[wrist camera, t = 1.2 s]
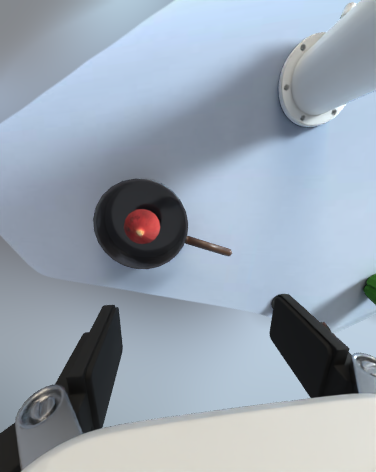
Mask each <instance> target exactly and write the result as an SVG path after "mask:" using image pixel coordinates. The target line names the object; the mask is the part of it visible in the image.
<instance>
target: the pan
mask: <svg viewBox="0 0 376 472" xmlns="http://www.w3.org/2000/svg"><path fill="white" fill-rule="evenodd" d="M138 209H145V210H149V211H151V212H152V213H154V214H155V215H156V216H157V218H158V220H159V223H160V231H159V234H158V236H157V237H156V239H155V240H153V241H152V242H150V243H146V244H138V243H135V242H133V241H131V240H130V239H129V238H128V236H127V235H126V233H125V230H124V223H125V219H126V218H127V216H128V215H129V214H130V213H131V212H133V211H135V210H138ZM93 221H94V232H95V234H96V237H97V240H98V243H99V244H100V245H101V247H102V248H103V250H104V251H105V253H107V254H108V255H109V256H110V257H111V258H112V259H113V260H115V261H117V262H119V263H120V264H122V265H124V266H127V267H131V268H135V269H150V268H155V267H159V266H161V265H163V264H165V263H167V262H169V261H170V260H171V259H173V258H174V257H175V256H176V255H177V254H178V253H179V251H180V250H181V248H182V247H183V245H184V243H185V240H186V237H187V232H188V220H187V215H186V211H185V209H184V207H183V205H182V203H181V201H180V199H179V198H178V197H177V195H176V194H175V193H174V192H173V191H172V190H171V189H169V188H168V187H167V186H165V185H164V184H162V183H159V182H156V181H153V180H148V179H131V180H126V181H122V182H120V183H118V184H116V185H114V186H112V187H111V188H110V189H109V190H108V191H107V192H106V193H104V194H103V195H102V197H101V199H100V200H99V202H98V204H97V206H96V209H95V213H94V218H93Z"/></svg>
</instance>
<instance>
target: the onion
mask: <svg viewBox="0 0 376 472" xmlns="http://www.w3.org/2000/svg"><path fill="white" fill-rule="evenodd" d="M124 230H125V233H126V235H127V236H128V238H129V239H130V240H131V241H133V242H135V243H138V244H146V243H150V242H152V241H153V240H155V239H156V237H157V236H158V234H159V231H160V223H159V220H158V218H157V216H156V215H155V214H154V213H152V212H151V211H149V210H145V209H138V210H135V211H133V212H131V213H130V214H129V215H128V216H127V218H126V219H125V223H124Z"/></svg>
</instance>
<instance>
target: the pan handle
mask: <svg viewBox="0 0 376 472" xmlns="http://www.w3.org/2000/svg"><path fill="white" fill-rule="evenodd" d="M185 243H186V244H189V245H192V246H195V247H199V248H202V249H205V250H209V251H212V252H215V253H218V254H222V255H225V256H230V255H231V254H232V251H231V250H230V249H228V248H225V247H222V246H219V245H215V244H212V243H209V242H206V241H203V240H199V239H196V238H193V237H190V236H187V237H186V240H185Z"/></svg>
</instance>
